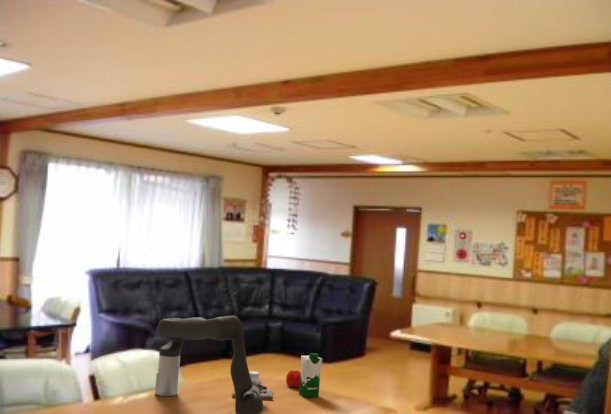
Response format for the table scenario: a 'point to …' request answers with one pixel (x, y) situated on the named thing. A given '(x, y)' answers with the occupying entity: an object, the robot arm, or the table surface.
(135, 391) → the table surface
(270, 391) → the mat
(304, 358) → the milk carton
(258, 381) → the supplement bottle
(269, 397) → the rail
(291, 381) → the tomato
